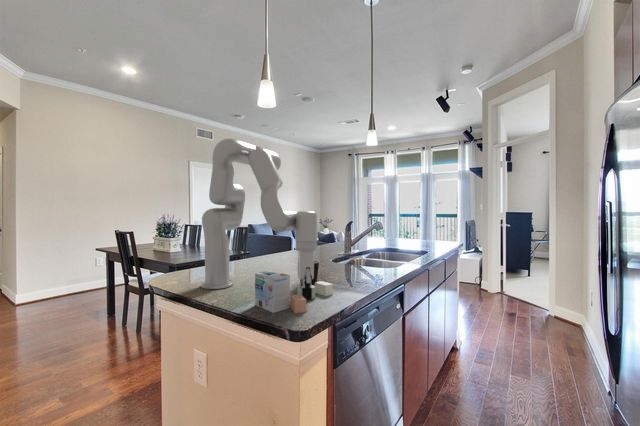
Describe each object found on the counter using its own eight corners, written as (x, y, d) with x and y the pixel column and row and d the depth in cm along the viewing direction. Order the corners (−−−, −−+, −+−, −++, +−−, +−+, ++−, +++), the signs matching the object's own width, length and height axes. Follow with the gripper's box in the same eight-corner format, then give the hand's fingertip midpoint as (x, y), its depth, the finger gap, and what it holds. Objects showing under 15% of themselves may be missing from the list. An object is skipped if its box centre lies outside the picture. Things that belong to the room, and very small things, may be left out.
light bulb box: (254, 305, 101) (254, 272, 101) (271, 300, 106) (271, 269, 106) (273, 313, 94) (273, 278, 93) (290, 308, 98) (290, 274, 98)
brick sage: (298, 299, 107) (298, 288, 107) (297, 296, 111) (297, 285, 111) (315, 299, 108) (315, 287, 108) (314, 296, 112) (314, 285, 112)
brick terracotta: (290, 307, 99) (290, 295, 99) (300, 306, 100) (300, 294, 100) (295, 313, 94) (295, 300, 94) (306, 312, 95) (306, 299, 95)
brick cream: (314, 293, 116) (314, 282, 116) (321, 291, 118) (321, 281, 118) (325, 296, 111) (325, 285, 111) (332, 294, 114) (332, 284, 113)
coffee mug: (318, 288, 121) (318, 263, 121) (297, 288, 121) (297, 263, 121) (319, 281, 132) (319, 258, 132) (299, 281, 133) (299, 258, 132)
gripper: (293, 243, 117) (294, 291, 117) (297, 249, 100) (297, 305, 101) (313, 242, 118) (313, 290, 118) (320, 248, 101) (320, 304, 102)
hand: (306, 296), depth 109 cm, fingers closed on brick sage, 3 cm apart
